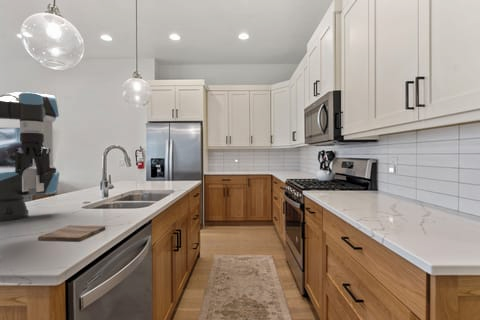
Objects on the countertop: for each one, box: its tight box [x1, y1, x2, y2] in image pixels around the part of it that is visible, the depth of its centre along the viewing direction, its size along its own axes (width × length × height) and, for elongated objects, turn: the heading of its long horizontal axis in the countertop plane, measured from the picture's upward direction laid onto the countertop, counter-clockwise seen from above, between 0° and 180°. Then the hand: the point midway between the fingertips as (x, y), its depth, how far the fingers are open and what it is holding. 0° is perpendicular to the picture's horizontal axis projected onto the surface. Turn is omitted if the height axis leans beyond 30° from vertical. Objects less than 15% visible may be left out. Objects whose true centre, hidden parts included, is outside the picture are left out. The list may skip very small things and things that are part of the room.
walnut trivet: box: [37, 224, 106, 242], centre depth 108 cm, size 16×16×1 cm
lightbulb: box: [22, 166, 38, 196], centre depth 109 cm, size 6×6×11 cm
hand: (33, 191), depth 109 cm, fingers closed on lightbulb, 5 cm apart
